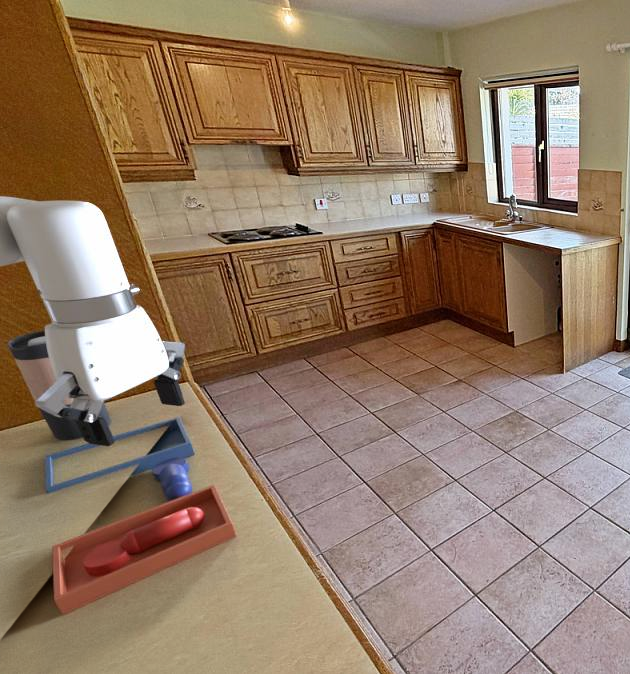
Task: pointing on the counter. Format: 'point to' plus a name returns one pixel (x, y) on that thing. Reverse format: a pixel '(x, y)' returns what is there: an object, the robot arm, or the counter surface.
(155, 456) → the blue long rectangular frame
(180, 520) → the red spoon
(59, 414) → the robot arm
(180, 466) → the blue lumpy rod
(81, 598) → the terracotta tray
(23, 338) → the travel mug
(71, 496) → the counter surface
